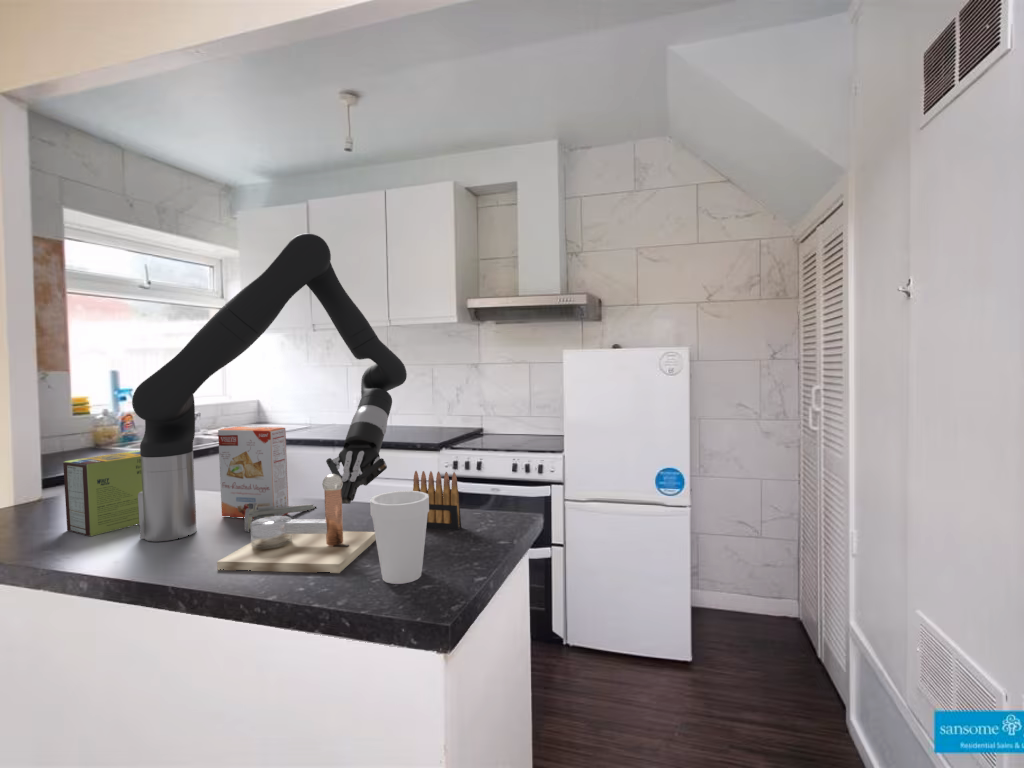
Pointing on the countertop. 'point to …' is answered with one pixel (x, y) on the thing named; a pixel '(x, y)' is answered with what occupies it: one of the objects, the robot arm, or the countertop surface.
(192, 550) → the countertop surface
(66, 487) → the protein box
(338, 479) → the lever
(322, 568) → the stand plate
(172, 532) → the robot arm
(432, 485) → the ammunition clip
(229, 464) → the cracker box
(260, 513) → the caliper
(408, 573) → the foam cup
